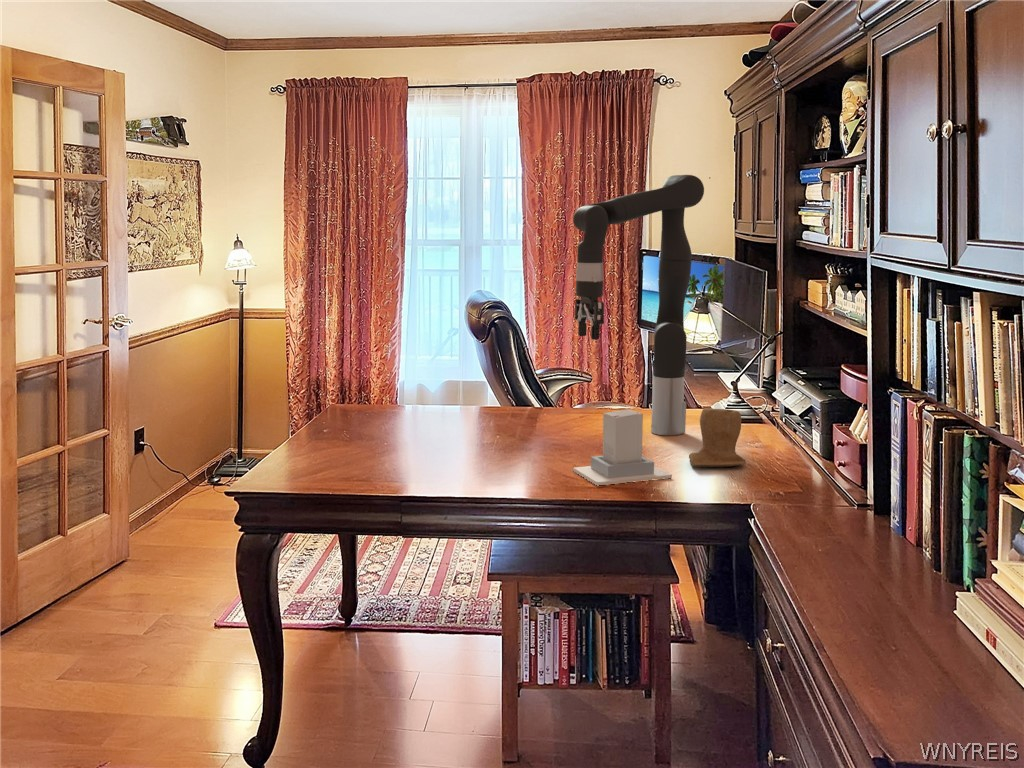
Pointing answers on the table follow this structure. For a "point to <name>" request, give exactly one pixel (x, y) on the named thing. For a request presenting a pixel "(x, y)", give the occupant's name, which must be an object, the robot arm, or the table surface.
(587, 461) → the table surface
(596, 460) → the socket board
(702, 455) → the tan flared vase
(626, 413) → the skincare box
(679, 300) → the robot arm
